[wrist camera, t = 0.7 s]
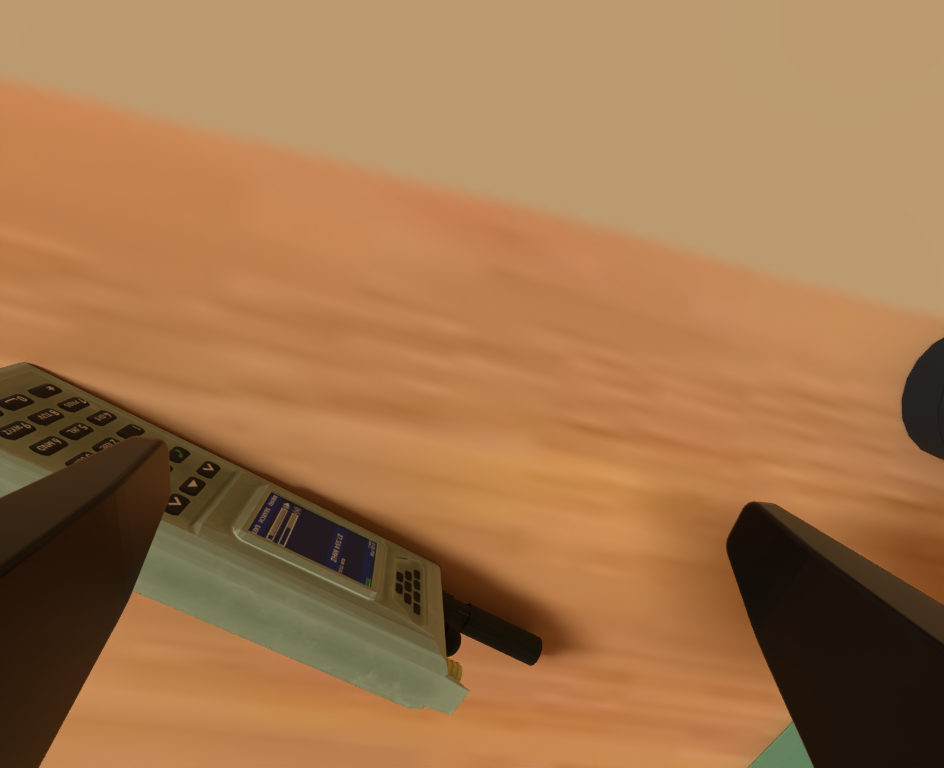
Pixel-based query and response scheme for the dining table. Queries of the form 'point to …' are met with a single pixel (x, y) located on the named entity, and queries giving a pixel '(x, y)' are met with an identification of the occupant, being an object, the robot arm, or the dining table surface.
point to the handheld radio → (265, 556)
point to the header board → (785, 752)
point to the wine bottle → (926, 401)
